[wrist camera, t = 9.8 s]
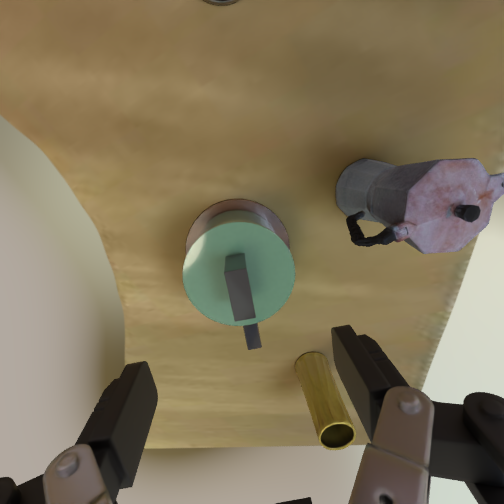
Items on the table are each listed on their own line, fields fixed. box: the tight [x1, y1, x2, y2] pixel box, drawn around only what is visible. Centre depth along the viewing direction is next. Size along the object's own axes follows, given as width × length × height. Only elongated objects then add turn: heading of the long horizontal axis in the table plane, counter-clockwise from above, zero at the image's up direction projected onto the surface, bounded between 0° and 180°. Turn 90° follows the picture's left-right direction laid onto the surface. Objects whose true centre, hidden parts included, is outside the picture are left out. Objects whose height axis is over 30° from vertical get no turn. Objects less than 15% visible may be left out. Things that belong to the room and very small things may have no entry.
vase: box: [295, 352, 356, 450], centre depth 47 cm, size 6×6×14 cm
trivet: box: [186, 199, 290, 255], centre depth 46 cm, size 16×16×1 cm
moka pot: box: [336, 158, 504, 254], centre depth 35 cm, size 10×15×20 cm, turn 119°
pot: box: [182, 210, 295, 350], centre depth 39 cm, size 19×14×15 cm
